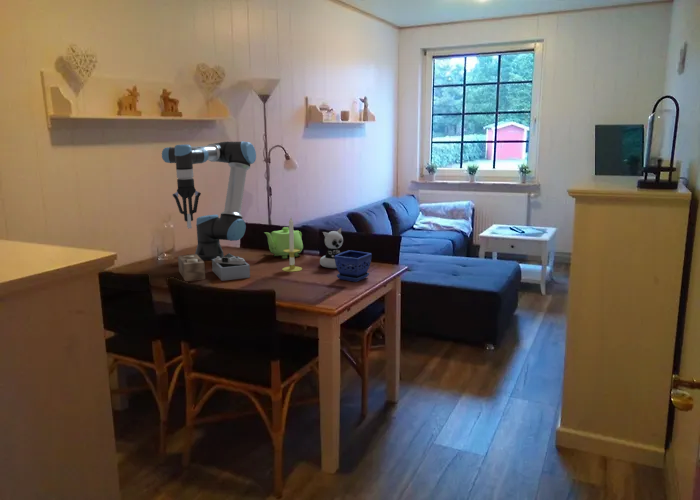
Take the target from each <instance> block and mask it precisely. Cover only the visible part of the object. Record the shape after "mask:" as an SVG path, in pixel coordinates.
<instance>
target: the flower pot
mask: <svg viewBox="0 0 700 500" xmlns="http://www.w3.org/2000/svg"><path fill="white" fill-rule="evenodd" d="M372 256H373V255H372V252H366V251H365V252H364V251H358V250H352V249H351V250H349V249H348V250H346V251H342V252H340V254H338V255H335V257H334V258H335V264H336V267H337V268H336V269H337V271H338V274H337V275H336V277H337V279H339V280H344V281H349V282H354V283H357V282H359V281H362V280H364V279H366V278H367V277H368V276H369V275H370V273H369V272H368V271H369V269H370V267H371V263H372Z"/></svg>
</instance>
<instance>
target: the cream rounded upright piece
mask: <svg viewBox="0 0 700 500" xmlns="http://www.w3.org/2000/svg"><path fill="white" fill-rule="evenodd" d="M189 262H198V259H188V260H187V263H189Z"/></svg>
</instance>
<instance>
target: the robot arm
mask: <svg viewBox="0 0 700 500" xmlns="http://www.w3.org/2000/svg"><path fill="white" fill-rule="evenodd" d="M161 158H162V160H163V162H165V163H168V164H175V169H176V180H177V181H176V184H177V189H176V192H175V193H172V197H173V198H174V199H175V202H176V205H177V209H178V211H179V213H180V214H181V215H183V216H184V219H183V220H184V222H186V227H187V229H192V228H193V227H192V222H193V221H194V214H195V213H197V212H198V211H197V210H198V205H199V199H200V196H201V195H202V193H201V192H200V191H197V190H196V187H195V179H194V176H195V175H194V166H193V165H195V164H197V165H198V164H204V163H206V162H207V161H209V162H212V163H215V162H216V163H217V162H218V163H225V164H227V165H228V166H229V168H230V171H229V175H228V176H229V177H228V184H227V191H226V196H225V203H224V210H223V211H222V212H221V213H220V217H219V214H208V215H202V216H198V217H197V218H196V225H195V226H196V235H197V236H196V240H197V246H196V249H195V253H194V254H197V255H198V256H199V257H200V258H201V259H202V260H203V261H212V259H215V258H217V257H220V258H222V257H224V256H225V255H224V250H223V249H222V246H221V242H220V240H221V241H222V240H223V241H231V242H232V241H234V242H236V241H239V240H241V239H242V238H243V237H244V235H245V233H246V228H247V225H246V221H245V220H243V218H244V217H243V215H242V214H241V211H242V203H243V198H244V191H245V185H246V184H245V183H246V177H247V171H248V170H249V169H251V165H252V164H255V162H256V159H257V151H256V149H255V147H254V144H252V143H251V142H250V141H243V140H242V141H220V142H213V143H208V144H207V145H196V146H191V145H190V144H188V143H187V144H185V143H184V144H175V145H174V147H171V146H169V147H164V148H163V149H162V151H161ZM194 195H195V196H194ZM179 196H180V197H181V198H182V205H181V202H180V199H179ZM193 196H194V201H193V198H192V197H193ZM187 202H188V205H187Z"/></svg>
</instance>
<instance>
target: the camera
mask: <svg viewBox="0 0 700 500" xmlns="http://www.w3.org/2000/svg"><path fill="white" fill-rule="evenodd" d="M236 257H237V256H235V255H233V254H231V253H230V252H229V253H226V254H225V255H224V257H222V258H220V257H217V258H215V262H216V263H219V264H220V265H221V266H222V267H232V266H242V265H245V262H246V260H245V259H244V257H240V258H239V259H238V258H236Z"/></svg>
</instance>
